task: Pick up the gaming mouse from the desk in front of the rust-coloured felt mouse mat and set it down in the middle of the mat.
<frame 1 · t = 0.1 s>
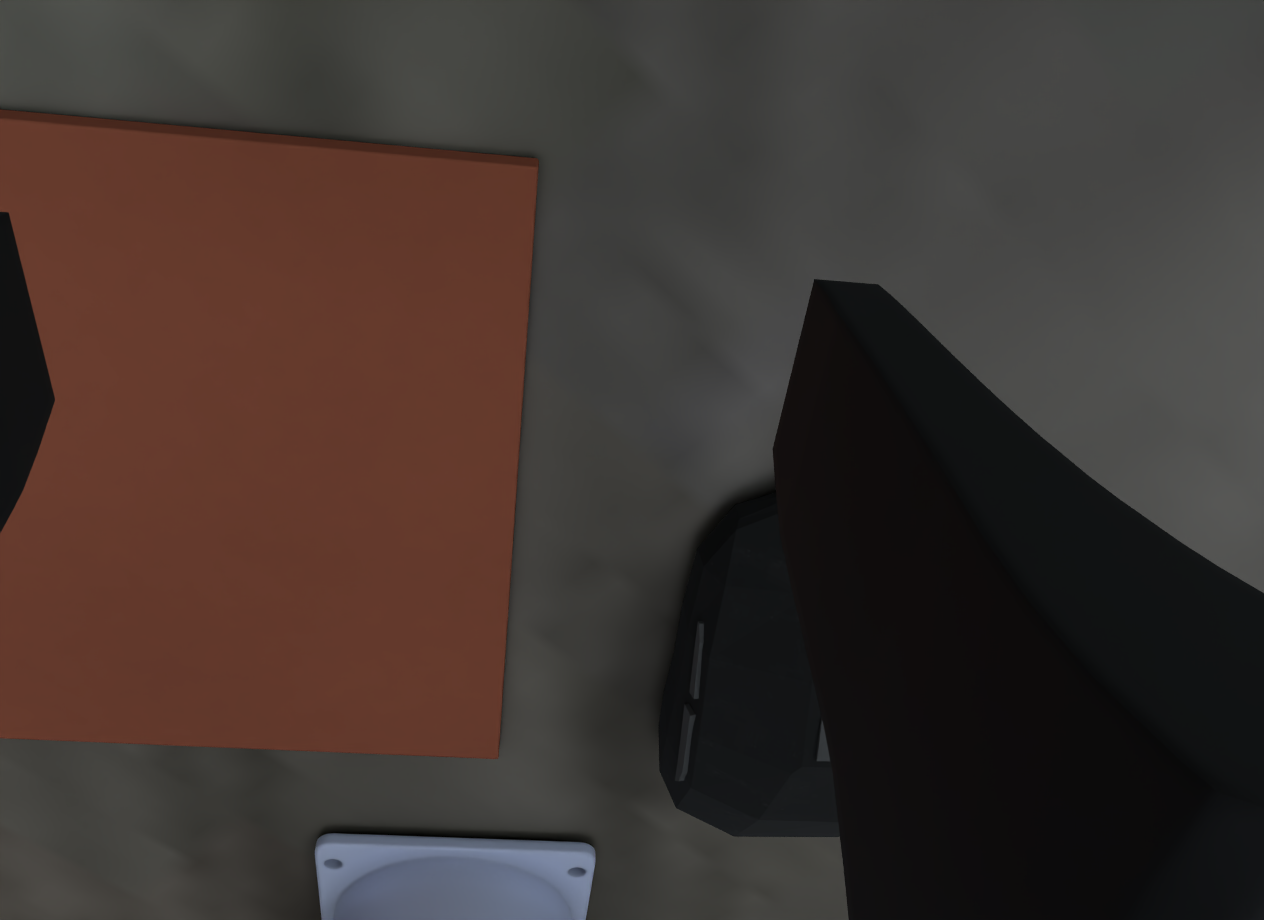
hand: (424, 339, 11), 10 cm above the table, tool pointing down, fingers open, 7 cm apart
mouse mat: (19, 482, 25), on the table
gaming mouse: (800, 602, 28), on the table
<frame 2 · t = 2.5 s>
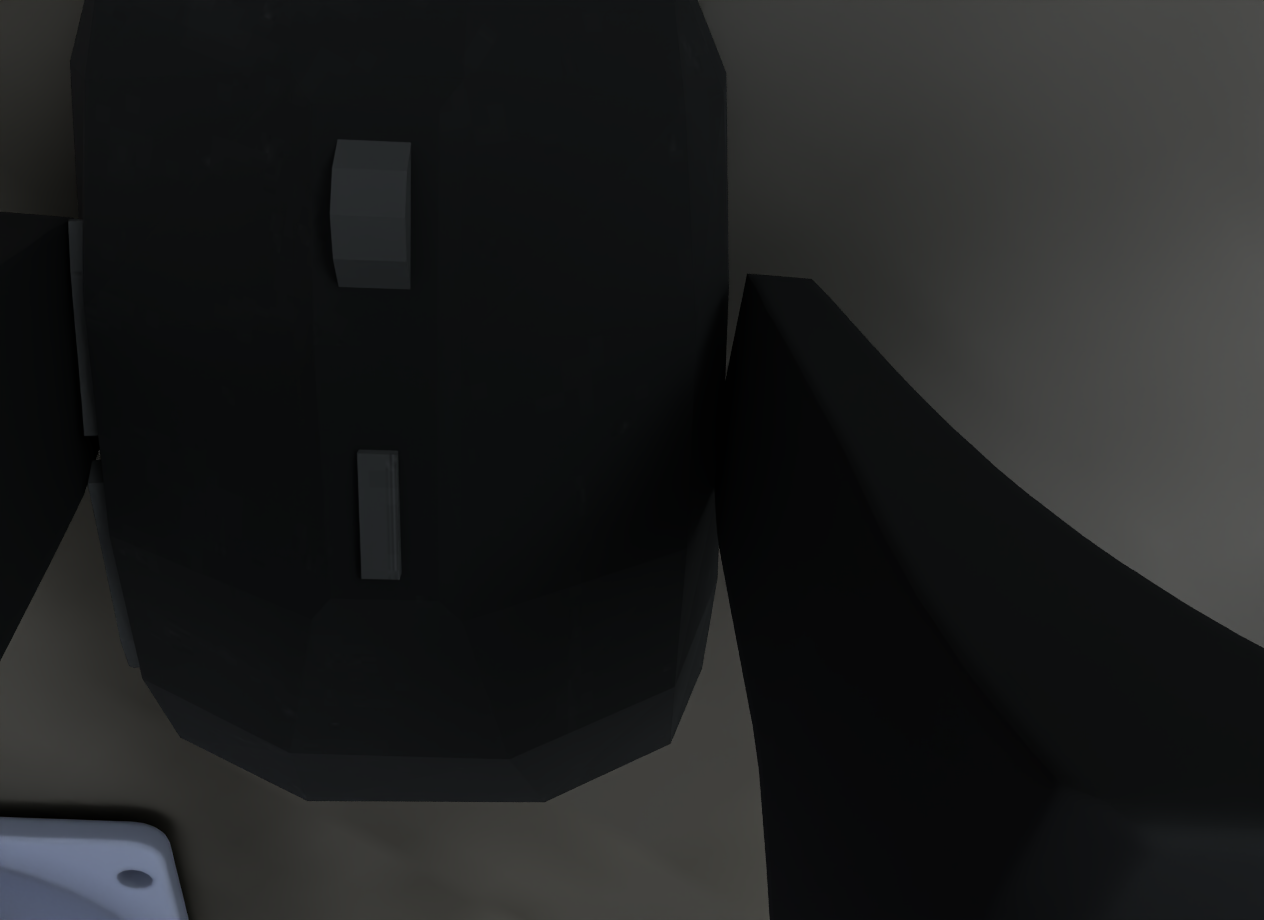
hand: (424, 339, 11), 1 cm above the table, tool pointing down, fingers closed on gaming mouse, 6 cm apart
gaming mouse: (430, 251, 12), on the table, touching gripper
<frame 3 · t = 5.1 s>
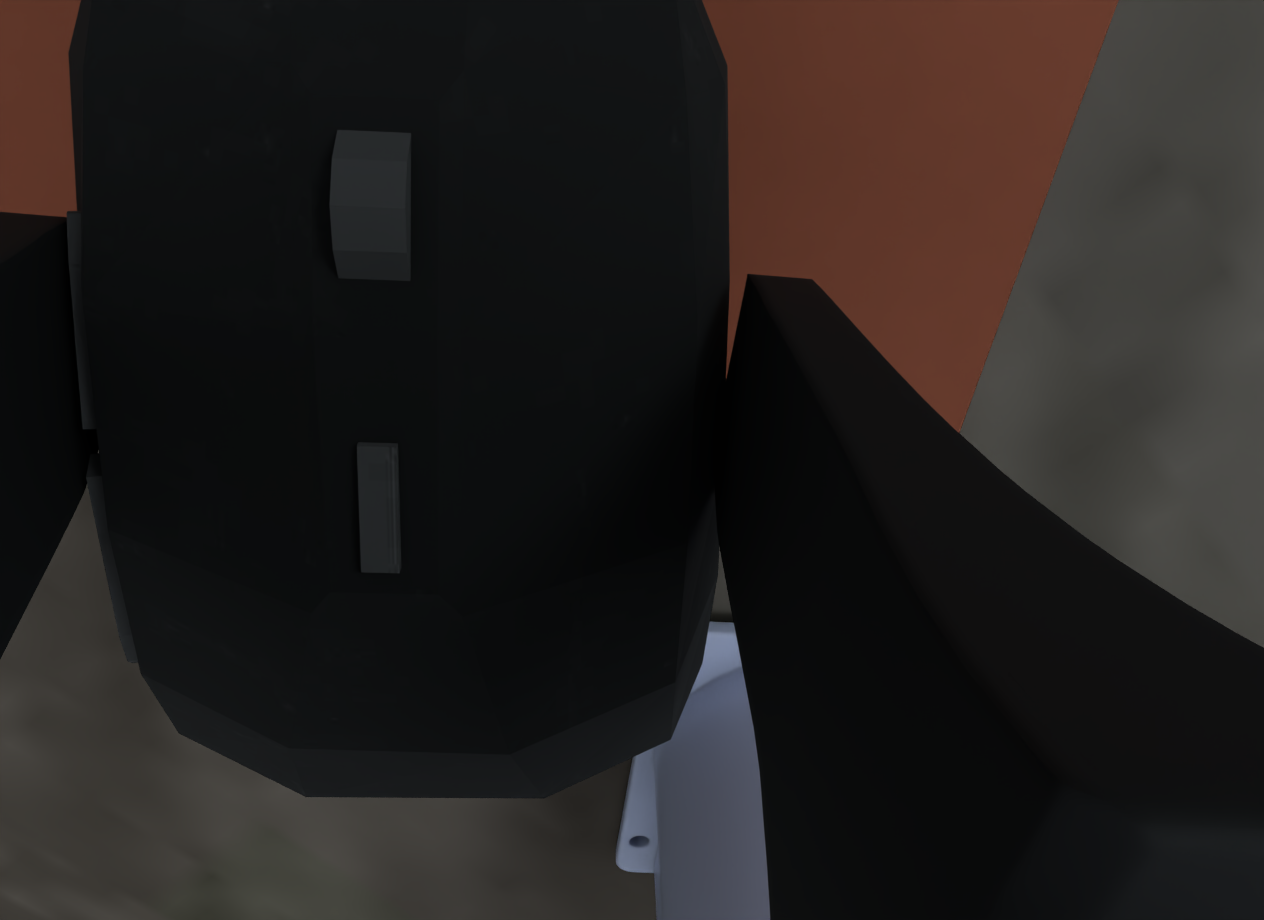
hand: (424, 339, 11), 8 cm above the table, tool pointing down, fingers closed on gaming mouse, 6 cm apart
mouse mat: (388, 1, 17), on the table
gaming mouse: (430, 245, 12), point 7 cm above the table, touching gripper
when the fingers open (2 cm above the table, at t = 7.7 s): gaming mouse stays where it is, resting on mouse mat.
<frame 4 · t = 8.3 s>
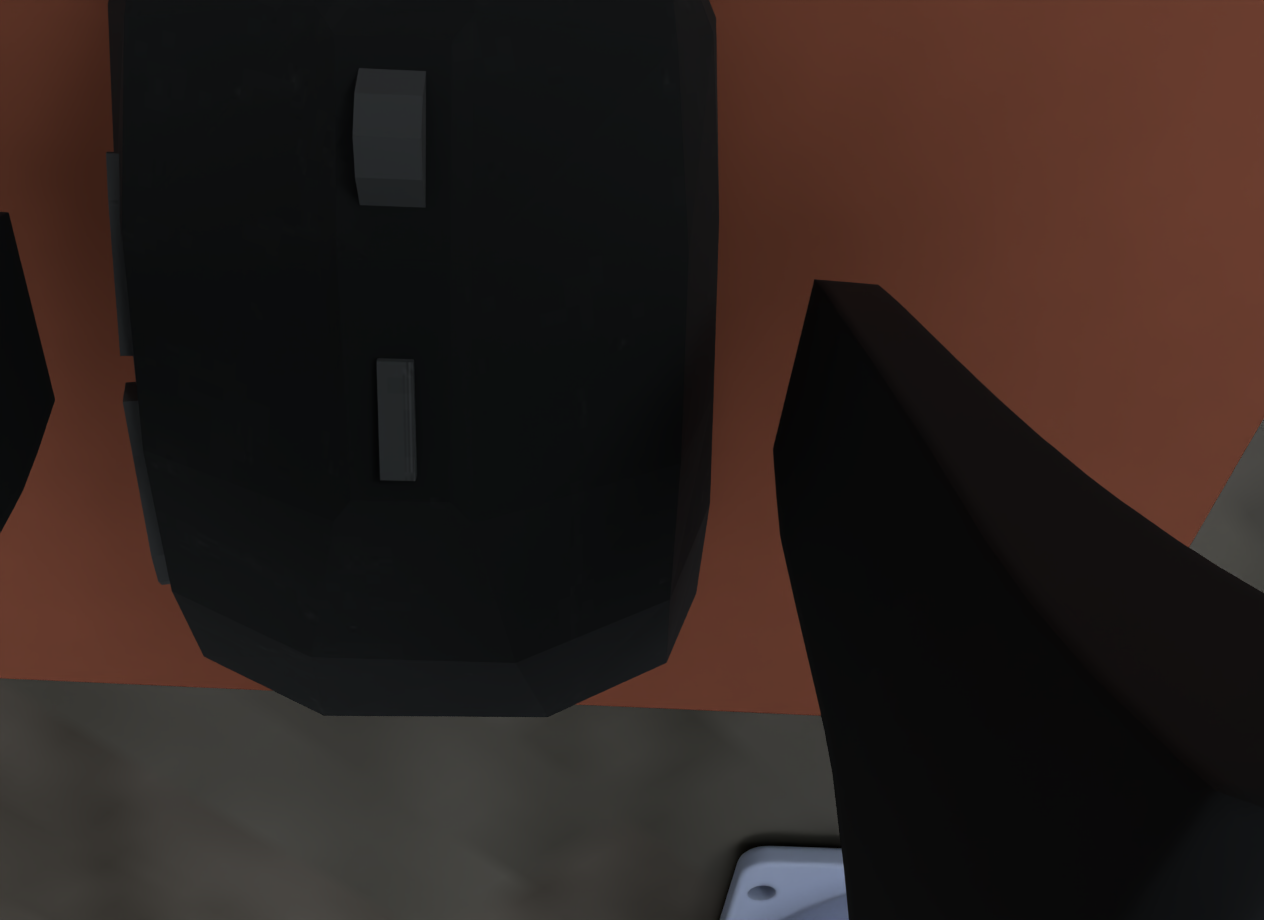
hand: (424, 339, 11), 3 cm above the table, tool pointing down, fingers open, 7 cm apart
mouse mat: (449, 190, 13), on the table
gaming mouse: (439, 193, 13), resting on mouse mat
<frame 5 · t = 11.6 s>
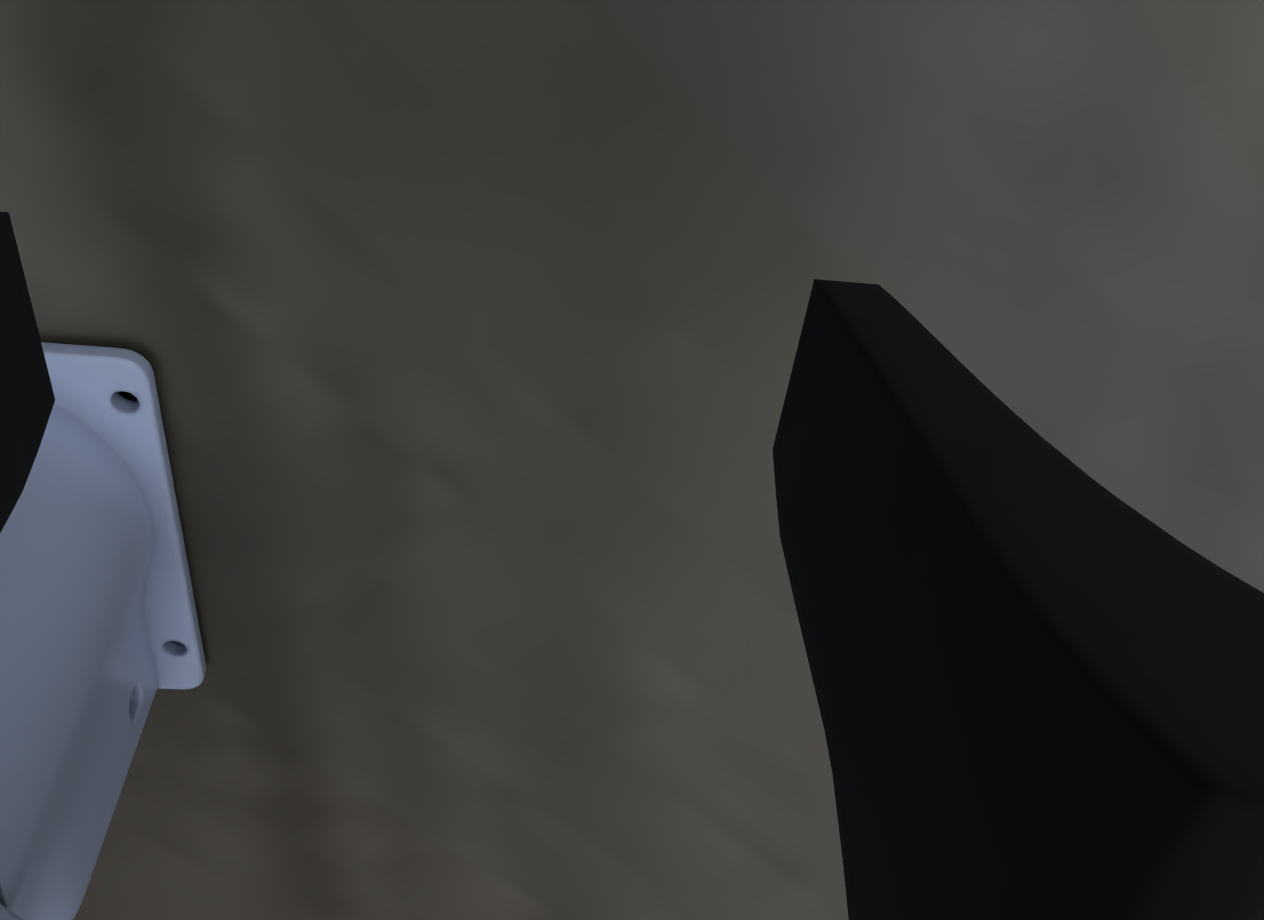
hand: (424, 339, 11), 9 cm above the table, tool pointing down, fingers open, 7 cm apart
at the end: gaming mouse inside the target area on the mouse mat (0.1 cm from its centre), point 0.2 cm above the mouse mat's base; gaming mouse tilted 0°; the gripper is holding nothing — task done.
